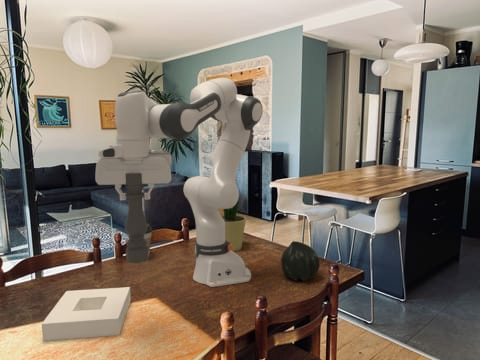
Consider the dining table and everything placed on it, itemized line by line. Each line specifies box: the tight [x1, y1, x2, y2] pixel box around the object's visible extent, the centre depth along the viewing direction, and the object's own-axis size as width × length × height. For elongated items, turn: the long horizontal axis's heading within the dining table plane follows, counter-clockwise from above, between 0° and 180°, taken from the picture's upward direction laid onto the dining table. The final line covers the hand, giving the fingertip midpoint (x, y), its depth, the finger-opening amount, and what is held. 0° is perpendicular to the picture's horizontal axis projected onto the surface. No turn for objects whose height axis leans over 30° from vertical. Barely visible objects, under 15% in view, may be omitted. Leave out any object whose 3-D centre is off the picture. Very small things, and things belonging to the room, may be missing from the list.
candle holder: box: [124, 173, 150, 264], centre depth 101 cm, size 6×6×25 cm
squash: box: [280, 240, 320, 282], centre depth 138 cm, size 14×15×15 cm
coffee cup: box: [125, 223, 153, 257], centre depth 159 cm, size 11×11×15 cm
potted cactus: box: [220, 199, 247, 252], centre depth 171 cm, size 15×15×30 cm
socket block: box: [41, 286, 131, 342], centre depth 108 cm, size 20×20×5 cm
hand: (135, 199), depth 101 cm, fingers closed on candle holder, 5 cm apart
